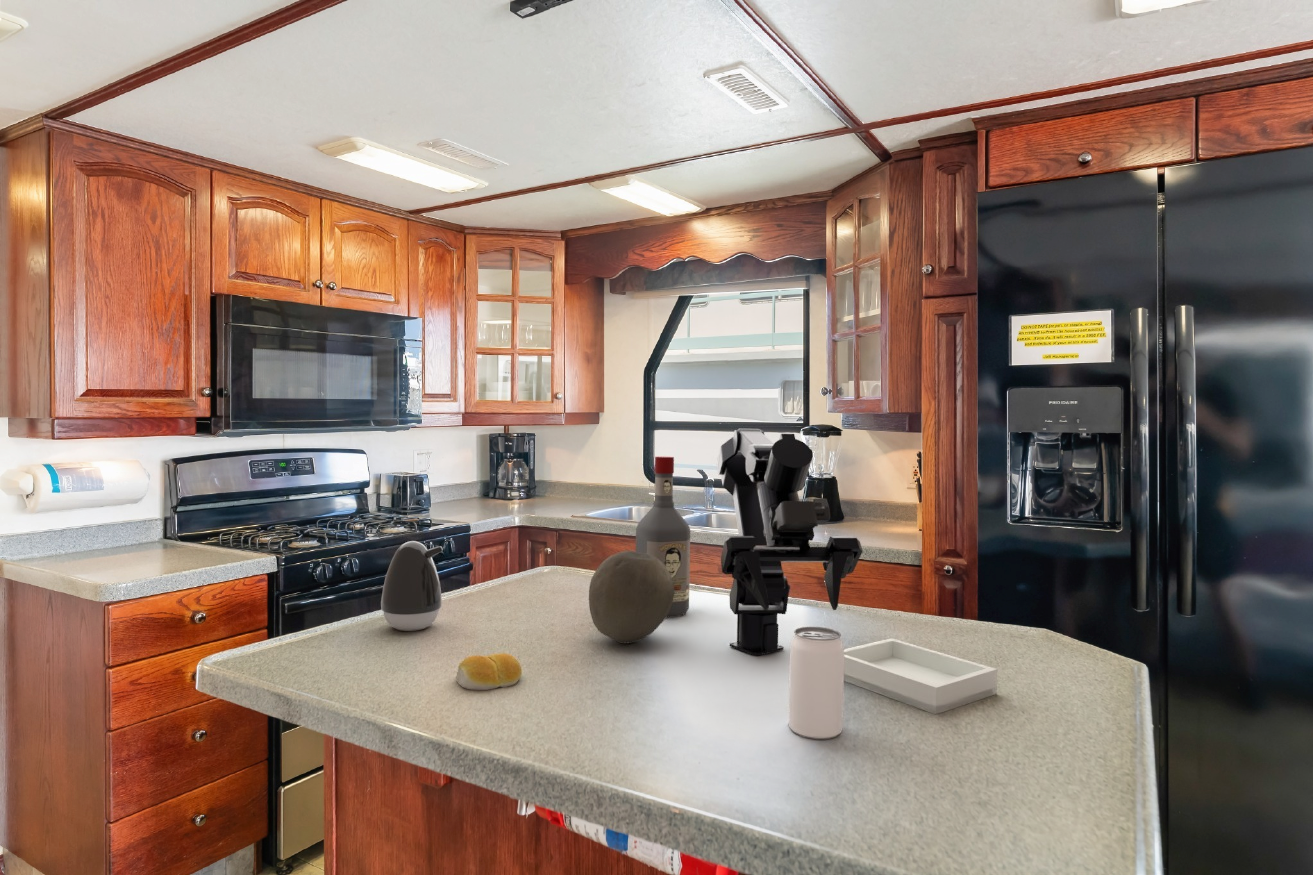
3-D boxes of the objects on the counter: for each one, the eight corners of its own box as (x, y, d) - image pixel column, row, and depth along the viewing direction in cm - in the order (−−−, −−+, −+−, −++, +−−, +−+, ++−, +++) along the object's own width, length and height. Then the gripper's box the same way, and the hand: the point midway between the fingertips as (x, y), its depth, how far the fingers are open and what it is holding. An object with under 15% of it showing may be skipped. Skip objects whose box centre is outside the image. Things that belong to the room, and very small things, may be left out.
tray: (830, 675, 118) (830, 652, 118) (890, 660, 126) (891, 638, 126) (935, 714, 103) (936, 687, 103) (996, 693, 111) (997, 669, 111)
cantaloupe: (636, 658, 125) (638, 563, 124) (570, 641, 133) (571, 552, 133) (688, 639, 136) (689, 551, 135) (624, 624, 144) (625, 542, 144)
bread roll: (530, 684, 113) (530, 656, 112) (469, 695, 108) (469, 666, 108) (507, 668, 119) (507, 641, 119) (449, 678, 115) (449, 650, 114)
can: (843, 743, 94) (845, 641, 93) (787, 737, 95) (789, 637, 95) (841, 722, 100) (843, 627, 100) (789, 717, 101) (791, 624, 101)
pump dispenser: (432, 635, 135) (433, 546, 135) (372, 634, 135) (372, 545, 135) (449, 620, 145) (450, 537, 145) (393, 619, 145) (393, 536, 145)
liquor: (630, 608, 157) (633, 455, 156) (672, 604, 160) (675, 455, 160) (649, 619, 148) (652, 458, 147) (693, 615, 152) (696, 458, 151)
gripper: (726, 477, 108) (740, 574, 98) (859, 478, 110) (888, 574, 100) (715, 526, 117) (727, 621, 106) (839, 527, 118) (864, 620, 108)
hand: (801, 608), depth 104 cm, fingers open, 9 cm apart
